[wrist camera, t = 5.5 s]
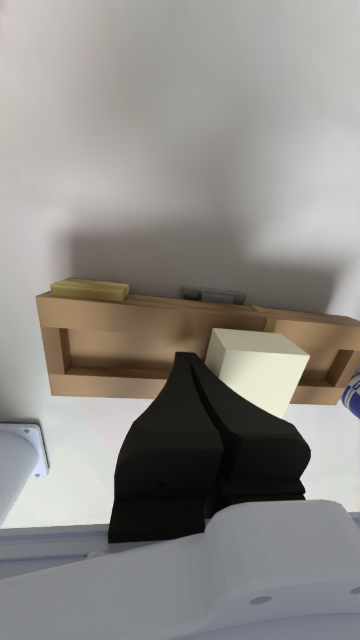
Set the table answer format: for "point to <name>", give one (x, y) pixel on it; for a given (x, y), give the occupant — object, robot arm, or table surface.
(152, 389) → the beam
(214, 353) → the plate
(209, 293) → the clear grey flat box
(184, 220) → the table surface
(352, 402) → the energy drink
